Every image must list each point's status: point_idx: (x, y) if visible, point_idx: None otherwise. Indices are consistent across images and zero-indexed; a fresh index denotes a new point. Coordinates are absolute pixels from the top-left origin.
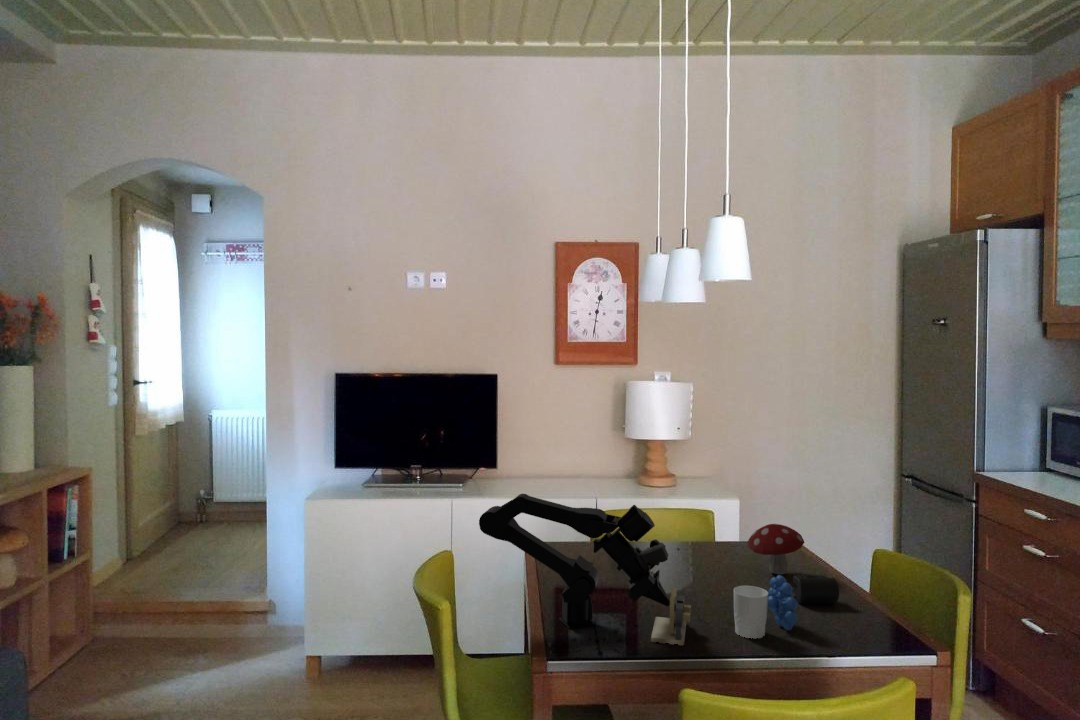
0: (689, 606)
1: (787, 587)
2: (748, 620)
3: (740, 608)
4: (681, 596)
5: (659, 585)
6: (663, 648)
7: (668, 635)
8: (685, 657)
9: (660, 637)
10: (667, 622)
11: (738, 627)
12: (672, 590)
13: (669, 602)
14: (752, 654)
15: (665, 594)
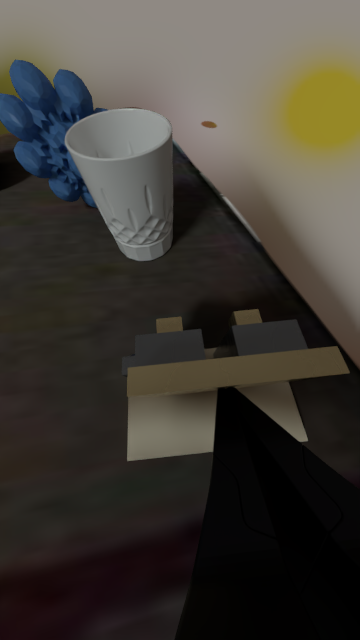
0: (170, 321)
1: (81, 81)
2: (172, 207)
3: (165, 193)
4: (142, 347)
5: (268, 519)
6: (317, 391)
7: (262, 387)
8: (329, 332)
9: (290, 409)
10: (166, 408)
11: (162, 242)
12: (178, 385)
13: (239, 393)
14: (237, 232)
15: (241, 425)
